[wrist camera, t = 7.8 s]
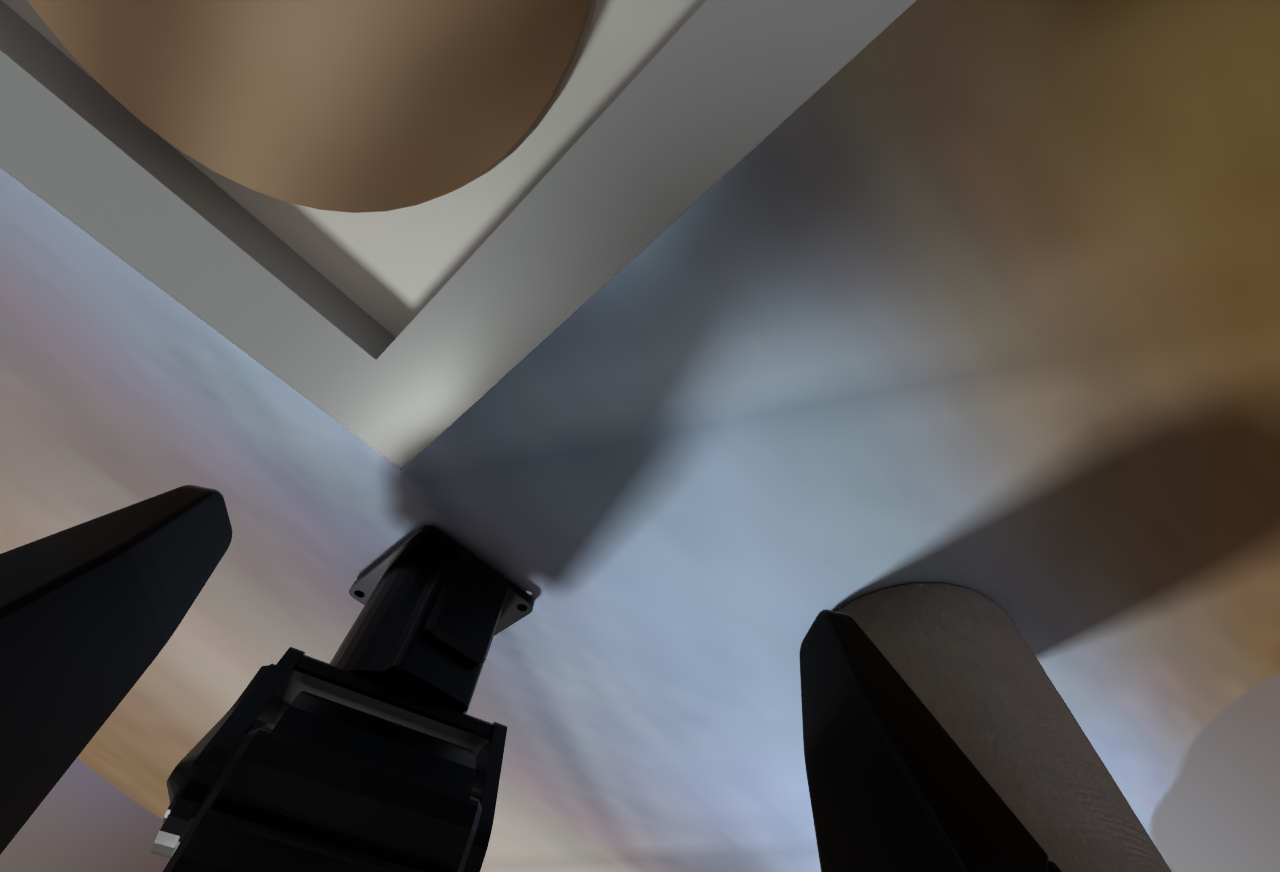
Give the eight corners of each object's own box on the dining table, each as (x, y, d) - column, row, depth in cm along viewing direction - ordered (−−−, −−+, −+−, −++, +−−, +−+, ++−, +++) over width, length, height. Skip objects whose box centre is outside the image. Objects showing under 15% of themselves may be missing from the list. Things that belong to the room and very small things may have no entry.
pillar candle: (801, 708, 30) (895, 1163, 17) (809, 582, 25) (951, 1103, 12) (991, 703, 29) (1237, 1184, 16) (1041, 572, 24) (1457, 1128, 11)
